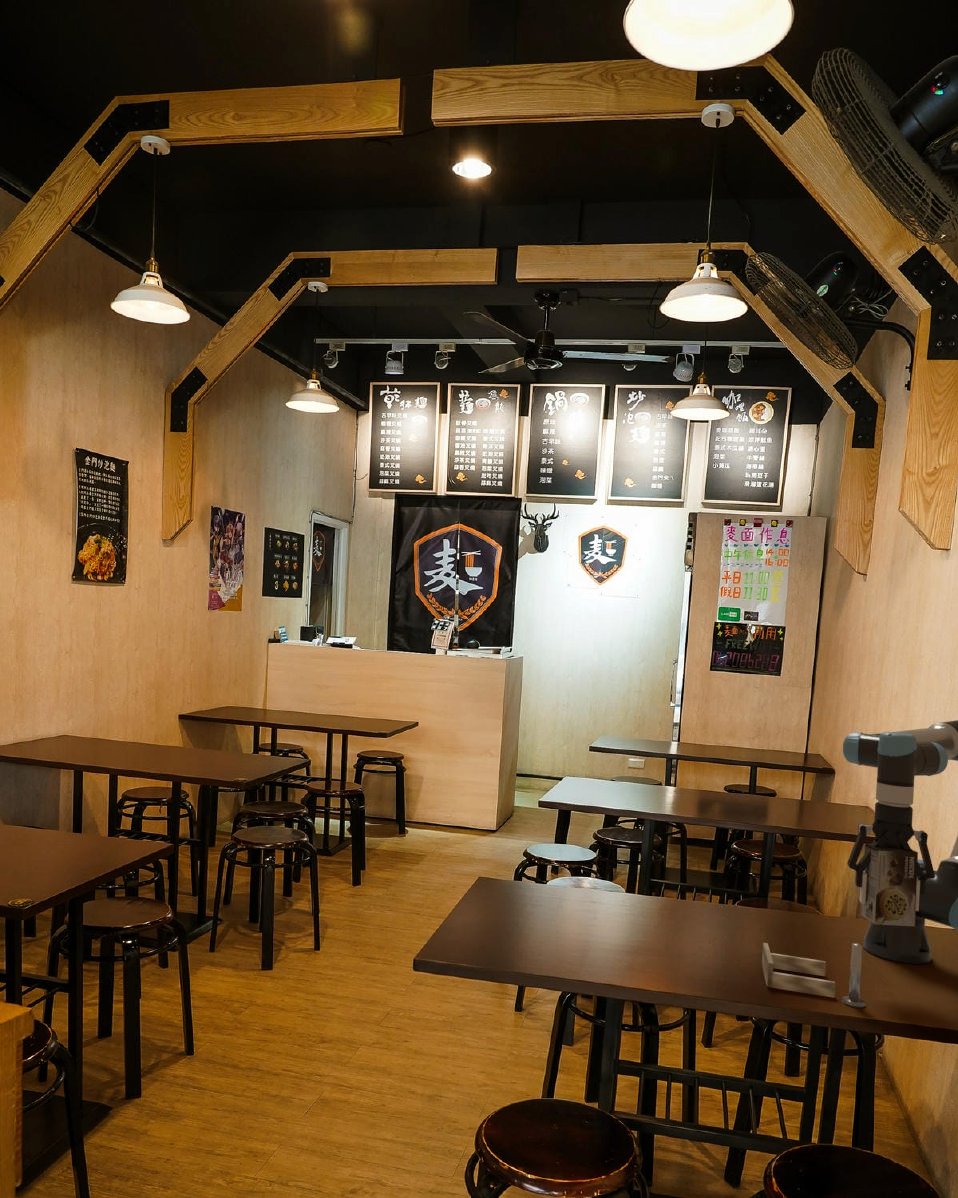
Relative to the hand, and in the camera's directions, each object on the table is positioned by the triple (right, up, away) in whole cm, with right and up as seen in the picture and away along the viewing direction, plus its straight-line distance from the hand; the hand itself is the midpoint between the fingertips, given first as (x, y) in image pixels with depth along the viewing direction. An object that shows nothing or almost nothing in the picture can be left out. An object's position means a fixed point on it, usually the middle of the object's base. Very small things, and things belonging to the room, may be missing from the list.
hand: (888, 905), depth 195 cm
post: (-12, -16, -11) cm, 23 cm away
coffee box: (0, -4, 0) cm, 4 cm away
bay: (-20, -16, 0) cm, 26 cm away
